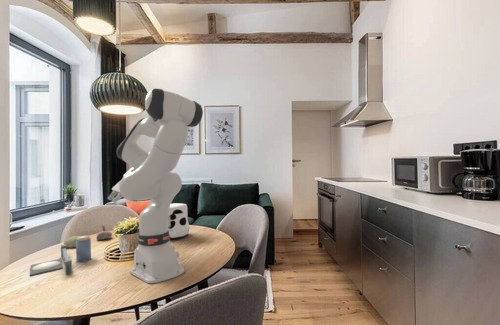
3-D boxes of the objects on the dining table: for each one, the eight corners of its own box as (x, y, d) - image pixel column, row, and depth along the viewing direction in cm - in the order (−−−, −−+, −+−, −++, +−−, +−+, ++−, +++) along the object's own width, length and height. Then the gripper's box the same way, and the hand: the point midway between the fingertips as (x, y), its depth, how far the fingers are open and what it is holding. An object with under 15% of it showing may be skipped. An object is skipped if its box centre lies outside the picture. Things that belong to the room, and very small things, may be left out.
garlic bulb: (93, 241, 138) (93, 226, 138) (101, 237, 145) (101, 223, 145) (107, 241, 138) (106, 226, 138) (114, 237, 145) (114, 223, 145)
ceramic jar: (91, 259, 111) (91, 237, 111) (77, 262, 108) (76, 239, 108) (90, 255, 116) (89, 234, 115) (75, 259, 112) (75, 236, 112)
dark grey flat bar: (71, 273, 97) (71, 260, 97) (65, 274, 96) (65, 261, 96) (66, 254, 117) (66, 244, 117) (61, 256, 116) (60, 245, 116)
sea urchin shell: (69, 246, 124) (64, 233, 127) (65, 255, 127) (59, 242, 130) (89, 241, 132) (84, 229, 135) (84, 249, 135) (79, 237, 138)
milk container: (186, 231, 155) (186, 202, 154) (191, 238, 139) (191, 206, 139) (157, 234, 148) (156, 204, 147) (159, 243, 132) (158, 209, 132)
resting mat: (62, 268, 102) (62, 266, 102) (30, 276, 95) (29, 274, 95) (60, 260, 111) (60, 258, 111) (30, 266, 105) (30, 264, 105)
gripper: (122, 174, 132) (101, 194, 125) (133, 175, 116) (110, 198, 110) (131, 182, 135) (111, 202, 128) (143, 184, 119) (121, 207, 113)
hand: (111, 200), depth 119 cm, fingers open, 8 cm apart
